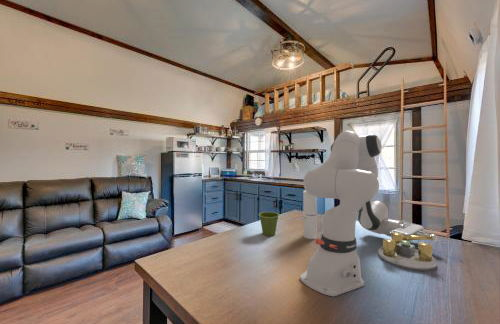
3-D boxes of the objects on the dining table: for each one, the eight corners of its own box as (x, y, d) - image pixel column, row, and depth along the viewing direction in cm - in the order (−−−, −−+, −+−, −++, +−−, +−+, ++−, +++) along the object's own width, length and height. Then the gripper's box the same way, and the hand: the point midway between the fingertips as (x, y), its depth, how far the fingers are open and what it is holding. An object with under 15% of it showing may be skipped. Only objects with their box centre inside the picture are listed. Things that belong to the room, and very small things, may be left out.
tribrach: (426, 276, 81) (426, 254, 81) (369, 257, 97) (369, 238, 97) (442, 261, 93) (442, 241, 93) (389, 246, 109) (389, 229, 109)
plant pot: (255, 232, 130) (254, 213, 130) (272, 229, 135) (272, 211, 135) (264, 239, 119) (264, 218, 119) (283, 235, 124) (283, 215, 124)
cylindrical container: (313, 240, 118) (313, 192, 117) (301, 237, 122) (301, 191, 122) (318, 236, 123) (318, 191, 123) (306, 233, 128) (306, 190, 127)
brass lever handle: (395, 249, 100) (395, 235, 99) (389, 245, 104) (389, 232, 104) (440, 248, 99) (441, 235, 99) (432, 245, 104) (432, 232, 104)
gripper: (387, 226, 108) (422, 234, 97) (403, 219, 120) (436, 225, 109) (387, 239, 108) (421, 249, 97) (403, 231, 121) (436, 238, 109)
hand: (429, 236), depth 103 cm, fingers closed
